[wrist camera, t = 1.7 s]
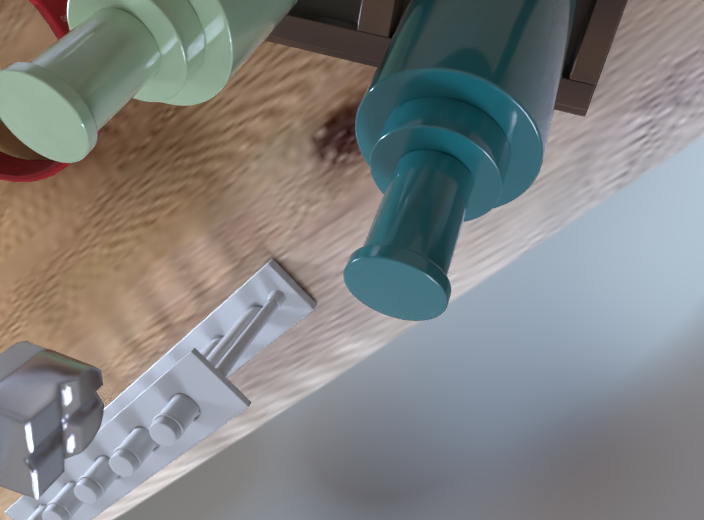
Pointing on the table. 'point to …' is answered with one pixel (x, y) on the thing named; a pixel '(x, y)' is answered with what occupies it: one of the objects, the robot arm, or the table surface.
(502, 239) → the table surface
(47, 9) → the headphones
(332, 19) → the rack
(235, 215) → the table surface
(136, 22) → the sage bottle
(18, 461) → the robot arm
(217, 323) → the test tube rack
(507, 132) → the teal bottle
